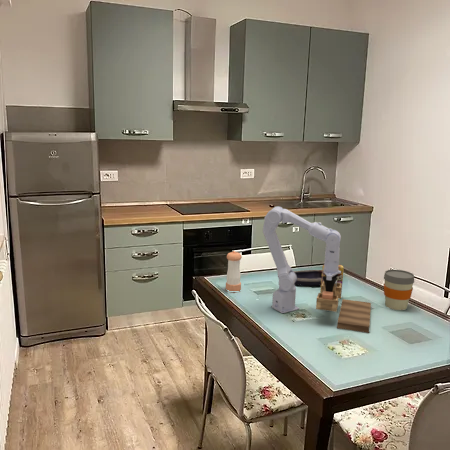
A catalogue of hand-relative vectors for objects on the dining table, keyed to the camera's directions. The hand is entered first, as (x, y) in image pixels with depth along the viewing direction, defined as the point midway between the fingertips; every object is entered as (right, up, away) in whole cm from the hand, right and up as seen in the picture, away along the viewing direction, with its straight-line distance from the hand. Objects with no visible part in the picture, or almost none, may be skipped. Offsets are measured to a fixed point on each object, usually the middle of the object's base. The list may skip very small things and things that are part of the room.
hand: (329, 291), depth 193 cm
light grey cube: (+3, 0, +7) cm, 8 cm away
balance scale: (0, -4, +1) cm, 4 cm away
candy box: (+5, -6, +21) cm, 22 cm away
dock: (+10, -11, -1) cm, 15 cm away
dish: (+2, -2, +42) cm, 42 cm away
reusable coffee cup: (+32, -8, +12) cm, 35 cm away
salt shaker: (-40, -3, +28) cm, 49 cm away
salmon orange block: (-2, -3, -7) cm, 8 cm away
